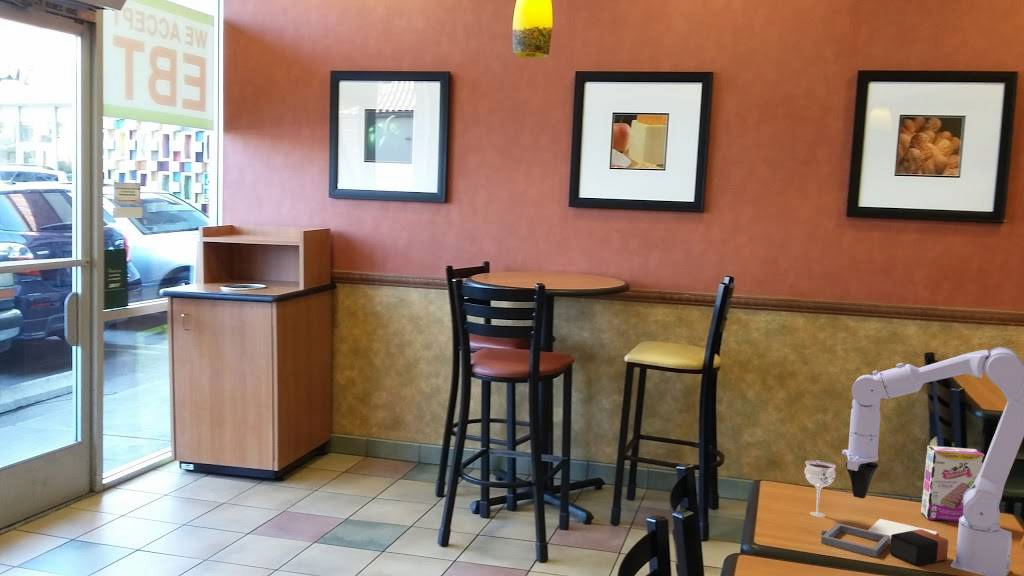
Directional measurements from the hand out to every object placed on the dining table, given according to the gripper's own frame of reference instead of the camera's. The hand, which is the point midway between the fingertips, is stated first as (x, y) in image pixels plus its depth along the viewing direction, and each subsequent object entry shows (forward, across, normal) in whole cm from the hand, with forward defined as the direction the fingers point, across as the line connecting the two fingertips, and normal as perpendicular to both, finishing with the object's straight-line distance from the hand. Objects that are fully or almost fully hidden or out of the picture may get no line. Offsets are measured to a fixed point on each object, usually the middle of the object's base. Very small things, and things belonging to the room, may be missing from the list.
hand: (859, 496), depth 185 cm
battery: (+8, +4, +10) cm, 13 cm away
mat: (+10, -13, +6) cm, 17 cm away
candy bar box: (+10, -32, +12) cm, 36 cm away
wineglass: (+10, -12, -12) cm, 20 cm away
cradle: (+10, 0, 0) cm, 10 cm away
